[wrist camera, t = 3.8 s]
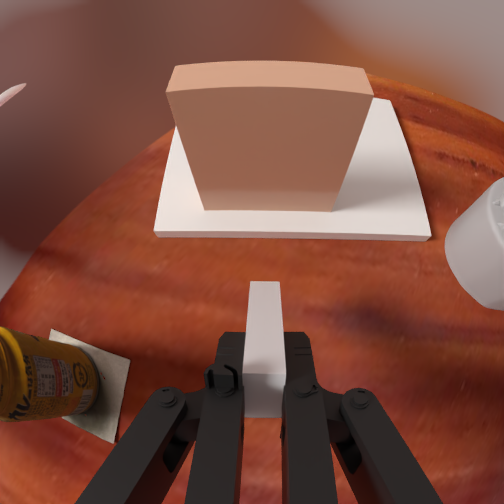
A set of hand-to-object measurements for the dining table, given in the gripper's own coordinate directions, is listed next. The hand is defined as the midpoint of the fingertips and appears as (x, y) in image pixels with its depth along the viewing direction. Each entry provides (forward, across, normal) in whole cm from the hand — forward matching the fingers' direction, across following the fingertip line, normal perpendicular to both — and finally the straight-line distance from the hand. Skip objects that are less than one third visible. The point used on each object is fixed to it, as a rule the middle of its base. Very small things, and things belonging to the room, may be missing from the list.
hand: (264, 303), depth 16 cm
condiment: (0, -15, -9) cm, 17 cm away
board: (+15, +3, +6) cm, 16 cm away
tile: (+10, 0, +3) cm, 11 cm away
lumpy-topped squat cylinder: (+8, +23, -1) cm, 24 cm away
